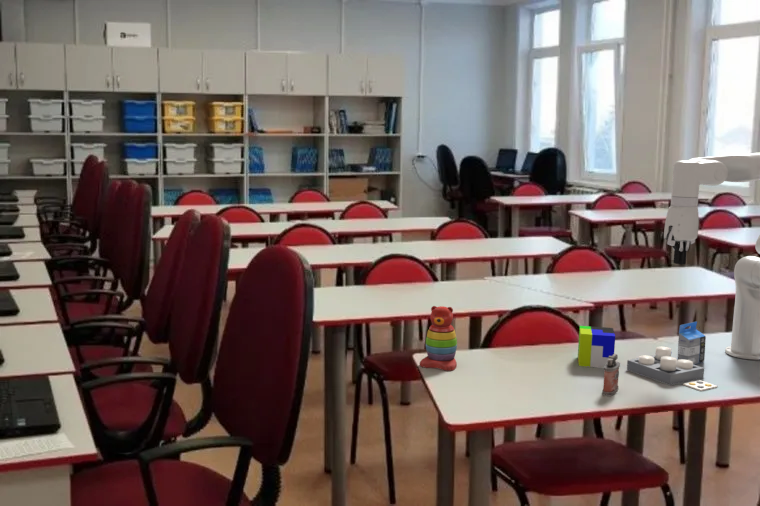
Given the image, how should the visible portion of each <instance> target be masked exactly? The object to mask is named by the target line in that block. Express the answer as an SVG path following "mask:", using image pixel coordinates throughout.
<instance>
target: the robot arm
mask: <svg viewBox="0 0 760 506" xmlns="http://www.w3.org/2000/svg"><path fill="white" fill-rule="evenodd" d="M756 181H760V152H753V153H751V152H750V153H742V154H729V155H719V156H717V155H716V156H715V155H714V156H704V157H693V158H690V159H687V160H677V161H675V162H674V163H673V169H672V181H671V183H672V184H671V196H670V197H671V198H670V206H669V207H668V209H667V213H666V216H665V222H664V230H663V231H664V232H663V239H664V240H666V241H667V242H666V243H667V245H669V246H672V250H673V264H676V265H681V266H682V265H686V264H687V252H688V251H689V247H690V246H691V245H693V244H695V243H696V239H698V236H699V224H700V223H699V222H700V221H699V220H700V219H699V207H698V205H699V193H700V191H699V190H700V185H702V186H711V187H712V186H713V187H714V186H715V187H716V186H719V185H721V184H723V183H724V182H729V183H748V182H756ZM755 250H756V252H757V254H759V255H760V235H759V236H758V238H757V239H756V242H755ZM733 277H734V284H735V285H734V286H735V299H734V307H733V321H732V332H731V342H730V345H729V346H726V347H725V350H724V351H725V353H726V354H727V355H729V356H731V357H735V358H738V359H744V360H757V361H758V360H760V257H759V256H754V255H747V256H743V257H742V258H741V257H740V259H738V260H737V262H736V263H735V265H734V272H733Z"/></svg>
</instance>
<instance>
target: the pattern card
mask: <svg viewBox="0 0 760 506" xmlns="http://www.w3.org/2000/svg"><path fill="white" fill-rule="evenodd" d="M682 386H684V387H688V388H691V389H693V390H696V391H699V392H704V391H707V390H713V389H717V388H719V387H718V385H715V384H713V383H710V382H707V381H705V380H702V379H697V380H692V381H688V382H683V383H682Z"/></svg>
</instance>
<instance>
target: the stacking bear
mask: <svg viewBox="0 0 760 506" xmlns="http://www.w3.org/2000/svg"><path fill="white" fill-rule="evenodd" d="M430 310H431V313H430V322H431V325H430V326H429V327H428V330H427V332H426V337H425V350H426V355H427V356H425V357H424V358H422V359H421V360H420V361H419V366H420V367H422V368H426V369H429V368H430V369H431V368H432V369H433V368H434V369H440V370H442V371H454V370H455V369H457V365H458V363H457V360H456V358H455V357H456V351H457V348H458V339H457V334H456V330H455V328H454V326H453V325H452V323H453V318H454V314H453V312H454V309H453V308H452V307H451V306H448V307H447V306H443V305H441V306H440V305H439V306H435V305H433V306H431V308H430Z"/></svg>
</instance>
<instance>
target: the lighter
mask: <svg viewBox="0 0 760 506" xmlns="http://www.w3.org/2000/svg"><path fill="white" fill-rule="evenodd" d="M618 357H619V355H618V353H614V354H613V355H612V356H609V358H608V361H607V364H605V366H604V368H603V371H604V372H603V373H604V374H603V385H602V386H603V387H602V392H601V394H602V396H607V397H608V396H610V397H611V396H613V394H614V395H615V394H616V392H617V393H618V391H619V377H620V367H621V362H620V361H617V360H618Z"/></svg>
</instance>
